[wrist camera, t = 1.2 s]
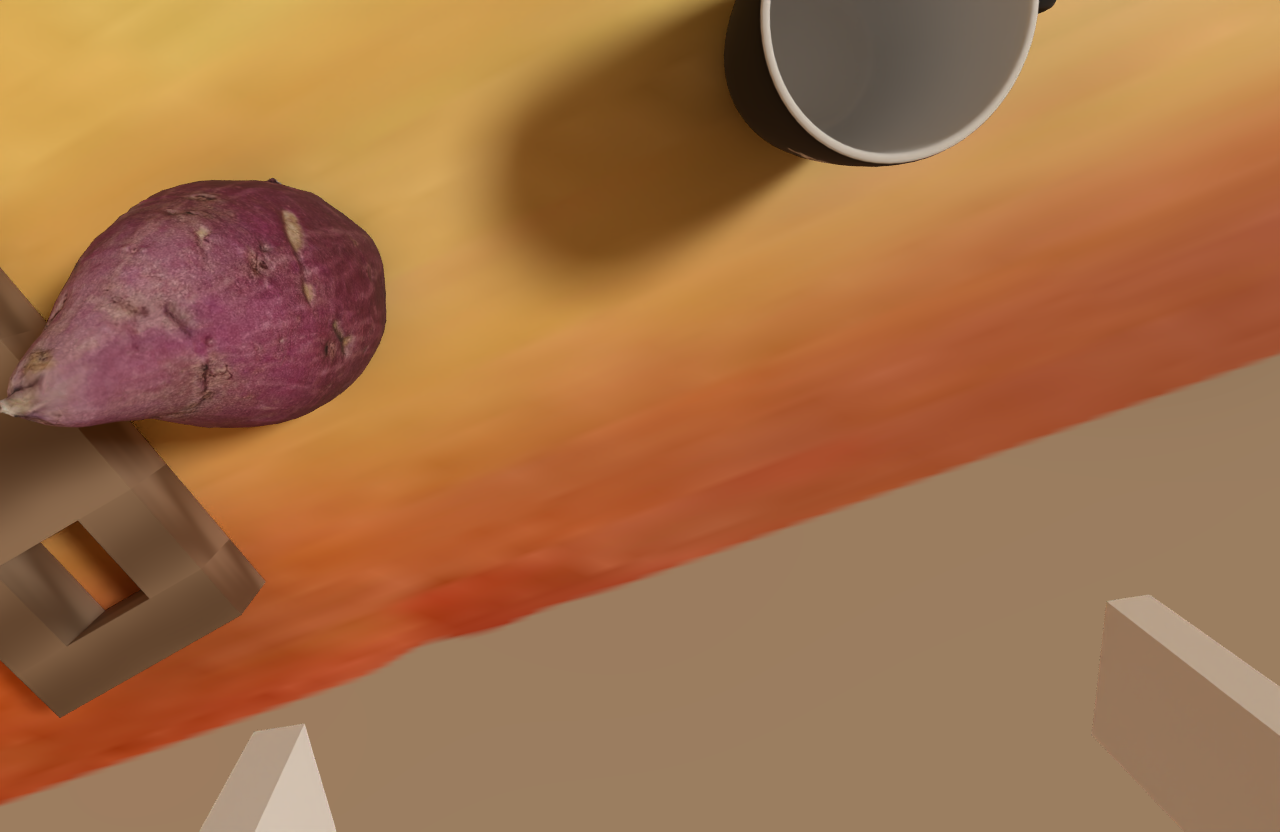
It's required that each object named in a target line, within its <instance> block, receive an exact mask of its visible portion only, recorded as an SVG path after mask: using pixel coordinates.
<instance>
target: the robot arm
mask: <svg viewBox="0 0 1280 832" xmlns="http://www.w3.org/2000/svg"><path fill="white" fill-rule="evenodd" d="M1092 736H1093V737H1094V738H1095V739H1096V740H1097V741H1098V742H1099V743H1100V744H1101V745H1102V746H1103V747H1104V748H1105V750H1106V751H1107V752H1108V753H1109V754H1110V755H1111V756H1112V757H1113V758H1114V759H1115V760H1116V761H1117V762H1118V763H1119V764H1120V765H1121V766H1122V767H1123V768H1124V769H1125V770H1126V772H1127V773H1129V775H1130V776H1131V777H1132V778H1133V779H1134V780H1135V781H1136V782H1137V783H1138V784H1139V785H1140V786H1141V787H1142V788H1143V789H1144V790H1145V791H1146V792H1147V793H1148V795H1150V797H1151V798H1152V799H1153V800H1154V801H1156V803H1157V804H1158V805H1159V806H1160V807H1161V808H1162V809H1163V810H1164V811H1165V812H1166V813H1167V814H1168V816H1170V818H1171V819H1172V820H1173V821H1174V822H1175V823H1176V824H1177V825H1178V826H1179V827H1180V828H1181V829H1182V830H1183V831H1184V832H1280V687H1279V686H1278V685H1276V684H1275V683H1274V682H1272V681H1271V680H1270V679H1268V678H1267V677H1265V676H1264V675H1262V674H1261V673H1260V672H1258V671H1257V670H1255V669H1254V668H1253V667H1251V666H1250V665H1248V664H1247V663H1246V662H1244V661H1243V660H1241V659H1240V658H1238V657H1237V656H1236V655H1234V654H1233V653H1231V652H1230V651H1229V650H1227V649H1226V648H1224V647H1223V646H1222V645H1220V644H1219V643H1217V642H1216V641H1214V640H1213V639H1212V638H1210V637H1209V636H1207V635H1206V634H1204V633H1203V632H1202V631H1200V630H1199V629H1197V628H1196V627H1195V626H1193V625H1192V624H1190V623H1189V622H1188V621H1186V620H1185V619H1183V618H1182V617H1181V616H1179V615H1177V614H1176V613H1175V612H1173V611H1172V610H1171V609H1169V608H1168V607H1166V606H1165V605H1164V604H1162V603H1161V602H1159V601H1158V600H1156V599H1155V598H1154V597H1152V596H1151V595H1145V596H1137V597H1131V598H1125V599H1118V600H1111V601H1106V609H1105V619H1104V628H1103V637H1102V646H1101V655H1100V664H1099V673H1098V682H1097V691H1096V700H1095V709H1094V718H1093V727H1092ZM199 832H336V829H335V825H334V822H333V819H332V815H331V812H330V808H329V805H328V802H327V798H326V795H325V791H324V789H323V785H322V781H321V778H320V775H319V771H318V768H317V764H316V761H315V758H314V754H313V751H312V748H311V744H310V741H309V737H308V734H307V731H306V727H305V724H299V725H293V726H287V727H280V728H273V729H267V730H261V731H254V732H253V734H252V736H251V738H250V740H249V741H248V743H247V745H246V747H245V749H244V750H243V752H242V754H241V756H240V758H239V760H238V761H237V764H236V765H235V767H234V769H233V771H232V772H231V774H230V776H229V778H228V780H227V782H226V783H225V786H224V787H223V789H222V791H221V793H220V795H219V796H218V798H217V800H216V802H215V804H214V805H213V807H212V809H211V811H210V813H209V815H208V816H207V818H206V820H205V822H204V824H203V826H202V828H201V830H200V831H199Z"/></svg>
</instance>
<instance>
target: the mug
mask: <svg viewBox="0 0 1280 832" xmlns="http://www.w3.org/2000/svg"><path fill="white" fill-rule="evenodd" d="M1055 2H1056V0H736V1H735V4H734V7H733V10H732V13H731V16H730V20H729V24H728V28H727V33H726V39H725V50H724V67H725V75H726V80H727V85H728V89H729V92H730V95H731V97H732V100H733V102H734V104H735V106H736V108H737V110H738V112H739V113H740V115H741V116H742V118H743V119H744V120H745V122H746V123H747V124H748V125H749V127H750V128H751V129H752V130H753V131H754V132H756V133H757V134H758V135H759V136H760V137H762V138H763V139H764V140H766V141H767V142H769V143H770V144H772V145H773V146H775V147H777V148H779V149H781V150H783V151H786V152H788V153H791V154H793V155H796V156H799V157H802V158H806V159H810V160H814V161H819V162H824V163H831V164H837V165H846V166H866V167H878V166H892V165H899V164H905V163H910V162H915V161H918V160H922V159H925V158H928V157H931V156H933V155H936V154H938V153H940V152H942V151H944V150H946V149H948V148H950V147H952V146H954V145H955V144H957V143H958V142H960V141H962V140H963V139H965V138H966V137H967V136H969V135H970V134H971V133H973V132H974V131H975V130H976V129H977V128H978V127H980V126H981V125H982V124H983V123H984V122H985V121H986V120H987V119H988V118H989V117H990V116H991V115H992V113H993V112H994V111H995V110H996V109H997V108H998V106H999V105H1000V104H1001V102H1002V101H1003V100H1004V99H1005V97H1006V96H1007V94H1008V93H1009V91H1010V89H1011V88H1012V86H1013V85H1014V83H1015V81H1016V79H1017V77H1018V75H1019V73H1020V71H1021V69H1022V67H1023V65H1024V62H1025V60H1026V58H1027V55H1028V52H1029V49H1030V46H1031V43H1032V39H1033V35H1034V31H1035V27H1036V21H1037V15H1038V14H1039V13H1041V12H1044V11H1046V10H1048V9H1050V8H1051V7H1052V6H1053V5H1054V3H1055Z"/></svg>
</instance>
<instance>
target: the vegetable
mask: <svg viewBox="0 0 1280 832" xmlns="http://www.w3.org/2000/svg"><path fill="white" fill-rule="evenodd" d="M385 323H386V291H385V278H384V269H383V263H382V260H381V257H380V254H379V251H378V249H377V247H376V245H375V243H374V242H373V240H372V239H371V238H370V236H369V235H368V234H367V233H366V232H365V231H364V230H363V229H362V228H360V227H359V226H358V225H357V224H355V223H354V222H353V221H352V220H350V219H349V218H348V217H347V216H345V215H344V214H343V213H341V212H340V211H338V210H337V209H335V208H334V207H332V206H331V205H330V204H328V203H327V202H325V201H324V200H323V199H322V198H320V197H319V196H317V195H315V194H313V193H311V192H307V191H303V190H298V189H295V188H292V187H289V186H285V185H282V184H281V183H279V182H278V181H277V180H276V179H274V178H271V179H269V180H268V181H256V180H249V181H230V180H209V181H198V182H192V183H188V184H183V185H179V186H176V187H173V188H170V189H166V190H162V191H160V192H158V193H156V194H154V195H152V196H150V197H149V198H147V199H146V200H143V201H141V202H140V203H139V204H137V205H135V206H134V207H132V208H130V209H129V211H128V212H127V213H125V214H123V215H121V216H120V217H119V218H118V219H117V220H116V221H115V222H114V223H113V224H112V225H111V226H110V227H109V228H108V229H106V230H105V231H104V232H103V233H101V234H100V235H99V236H97V237H96V238H95V239H94V241H93V242H92V243H91V244H90V246H89V247H88V248H87V250H86V251H85V252H84V253H83V255H82V256H81V257H80V259H79V260H78V262H77V263H76V266H75V268H74V269H73V271H72V273H71V275H70V277H69V279H68V281H67V282H66V284H65V286H64V287H63V289H62V291H61V293H60V294H59V296H58V298H57V300H56V302H55V304H54V306H53V309H52V311H51V314H50V316H49V319H48V321H47V324H46V325H45V327H44V329H43V331H42V333H41V335H40V336H39V337H38V338H37V339H36V340H35V342H34V343H33V344H32V345H31V346H30V348H29V349H28V351H27V352H26V353H25V355H24V356H23V357H22V359H21V360H20V362H19V363H18V365H17V366H16V368H15V370H14V371H13V373H12V375H11V376H10V378H9V383H8V390H7V398H5V399H3V400H1V401H0V413H5V414H8V415H10V416H12V417H20V418H22V419H26V420H29V421H33V422H37V423H40V424H44V425H50V426H57V427H86V426H93V425H99V424H105V423H112V422H119V421H132V420H143V419H158V420H163V421H169V422H174V423H180V424H186V425H193V426H199V427H207V428H212V427H220V428H239V427H256V426H264V425H271V424H278V423H282V422H285V421H289V420H292V419H296V418H299V417H301V416H303V415H306V414H308V413H310V412H312V411H314V410H315V409H317V408H319V407H320V406H322V405H324V404H326V403H328V402H330V401H331V400H333V399H334V398H335V397H337V396H338V395H339V394H341V393H342V392H343V391H345V390H346V389H347V388H348V387H349V386H350V385H351V384H352V383H353V382H354V381H355V380H356V379H357V378H358V377H359V376H360V375H361V374H362V372H363V371H364V369H365V368H366V366H367V365H368V363H369V362H370V360H371V358H372V357H373V355H374V353H375V351H376V349H377V347H378V346H379V344H380V341H381V338H382V336H383V333H384V330H385Z"/></svg>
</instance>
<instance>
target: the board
mask: <svg viewBox="0 0 1280 832" xmlns="http://www.w3.org/2000/svg"><path fill="white" fill-rule="evenodd" d="M46 324H47V322H46V321H45V320H44V319H43V318H42V317H41V315H40V314H39V313H38V312H37V311H36V309H35V308H34V307H33V306H32V305H31V303H30V302H29V301H28V300H27V299H26V298H25V296H24V295H23V294H22V293H21V292H20V290H19V289H18V288H17V287H16V286H15V285H14V283H13V282H12V281H11V280H10V279H9V277H8V276H7V275H6V274H5V273H4V272H3V270H2V269H1V268H0V401H1V400H3V399H5V398H7V390H8V383H9V378H10V376H11V375H12V373H13V371H14V370H15V368H16V366H17V365H18V363H19V362H20V360H21V359H22V357H23V356H24V355H25V353H26V352H27V351H28V349H29V348H30V346H31V345H32V344H33V343H34V342H35V340H36V339H37V338H38V337H39V336H40V335H41V333H42V331H43V329H44V327H45V325H46ZM77 520H78V521H79V522H80V523H81V524H82V525H83V527H84V528H85V529H86V530H87V531H88V532H89V533H90V534H91V535H92V536H93V537H94V539H95V540H96V541H97V542H98V543H99V544H100V545H101V546H102V547H103V548H104V549H105V551H106V552H107V553H108V554H109V555H110V556H111V557H112V558H113V559H114V560H115V562H116V563H117V564H118V565H119V566H120V567H121V568H122V569H123V570H124V571H125V572H126V574H127V575H128V576H129V577H130V578H131V579H132V580H133V581H134V582H135V583H136V584H137V586H138V587H139V588H140V589H141V590H140V591H138V592H136V593H135V594H133V595H131V596H129V597H128V598H126V599H124V600H122V601H121V602H119V603H117V604H115V605H114V606H112V607H110V608H109V609H107V610H104V609H103V608H102V607H101V606H100V605H99V604H98V603H97V602H96V601H95V600H94V599H93V598H92V597H91V595H90V594H89V593H88V592H87V591H86V590H85V589H84V588H83V587H82V586H81V585H80V584H79V583H78V582H77V581H76V580H75V579H74V577H73V576H72V575H71V574H70V573H69V572H68V571H67V570H66V569H65V568H64V567H63V566H62V565H61V564H60V563H59V562H58V561H57V560H56V558H55V557H54V556H53V555H52V554H51V553H50V552H49V551H48V550H47V549H46V548H45V547H44V546H43V545H42V544H41V543H40V542H42V541H43V540H45V539H47V538H48V537H50V536H52V535H54V534H55V533H57V532H59V531H60V530H62V529H64V528H65V527H67V526H69V525H71V524H72V523H74V522H76V521H77ZM264 583H265V580H264V579H263V578H262V577H261V576H260V575H259V573H258V572H257V571H256V570H255V569H254V567H253V566H252V565H251V564H250V563H249V561H248V560H247V559H246V558H245V557H244V556H243V554H242V553H241V552H240V551H239V550H238V548H237V547H236V546H235V545H234V544H233V543H232V541H231V540H230V539H229V538H228V537H227V535H226V534H225V533H224V532H223V531H222V530H221V528H220V527H219V526H218V525H217V524H216V522H215V521H214V520H213V519H212V518H211V517H210V515H209V514H208V513H207V512H206V511H205V509H204V508H203V507H202V506H201V505H200V504H199V502H198V501H197V500H196V499H195V498H194V496H193V495H192V494H191V493H190V492H189V490H188V489H187V488H186V487H185V486H184V485H183V483H182V482H181V481H180V480H179V479H178V477H177V476H176V475H175V474H174V473H173V472H172V470H171V469H170V468H169V467H168V466H167V464H166V463H165V462H164V461H163V460H162V459H161V457H160V456H159V455H158V454H157V453H156V451H155V450H154V449H153V448H152V447H151V446H150V444H149V443H148V442H147V441H146V440H145V438H144V437H143V436H142V435H141V434H140V432H139V431H138V430H137V429H136V428H135V427H134V425H133V424H132V423H131V422H130V421H119V422H112V423H105V424H99V425H93V426H86V427H57V426H50V425H44V424H40V423H37V422H33V421H29V420H26V419H22V418H20V417H12V416H10V415H8V414H5V413H0V660H1V661H2V662H3V663H4V664H5V665H6V666H7V667H8V668H9V669H10V670H11V671H12V672H13V673H14V674H15V675H16V676H17V677H18V678H19V679H20V680H21V681H22V682H23V683H24V684H25V685H26V686H27V687H29V688H30V689H31V690H32V691H33V692H34V693H35V694H36V695H37V696H38V697H39V698H40V699H41V700H42V701H43V702H44V703H45V704H46V705H47V706H48V707H49V708H50V709H51V710H52V711H53V712H54V713H55V714H56V715H57V716H58V717H59V718H61V717H62V716H64V715H66V714H68V713H70V712H71V711H73V710H75V709H77V708H78V707H80V706H82V705H84V704H85V703H87V702H89V701H91V700H92V699H94V698H96V697H98V696H99V695H101V694H103V693H105V692H106V691H108V690H110V689H112V688H114V687H115V686H117V685H119V684H121V683H122V682H124V681H126V680H128V679H129V678H131V677H133V676H135V675H136V674H138V673H140V672H142V671H143V670H145V669H147V668H149V667H150V666H152V665H154V664H156V663H158V662H159V661H161V660H163V659H165V658H166V657H168V656H170V655H172V654H173V653H175V652H177V651H179V650H180V649H182V648H184V647H186V646H187V645H189V644H191V643H193V642H195V641H196V640H198V639H200V638H202V637H203V636H205V635H207V634H209V633H210V632H212V631H214V630H216V629H217V628H219V627H221V626H223V625H224V624H226V623H228V622H230V621H231V620H233V619H235V618H237V617H239V616H240V615H242V613H243V612H244V611H245V609H246V608H247V606H248V605H249V604H250V602H251V601H252V600H253V598H254V597H255V596H256V594H257V593H258V592H259V590H260V589H261V588H262V586H263V585H264Z"/></svg>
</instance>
